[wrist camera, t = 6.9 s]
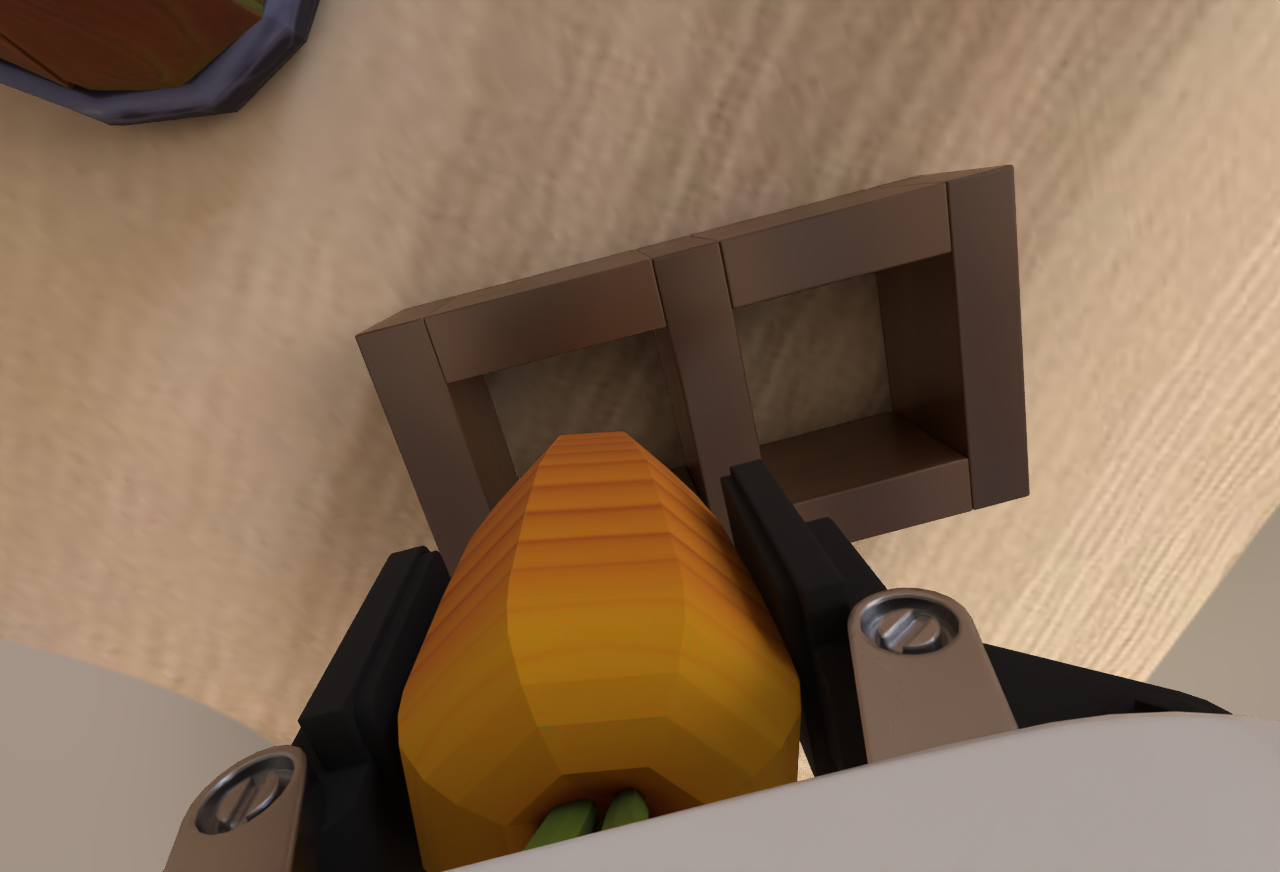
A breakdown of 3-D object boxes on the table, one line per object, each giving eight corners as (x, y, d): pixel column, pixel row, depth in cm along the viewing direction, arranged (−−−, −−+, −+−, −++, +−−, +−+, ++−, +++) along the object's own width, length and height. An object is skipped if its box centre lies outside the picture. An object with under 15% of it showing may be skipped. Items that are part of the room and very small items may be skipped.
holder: (918, 175, 21) (1014, 163, 17) (943, 442, 25) (1030, 496, 20) (403, 309, 21) (353, 335, 17) (494, 561, 25) (475, 643, 20)
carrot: (463, 411, 17) (-191, 1521, 3) (641, 328, 16) (994, 1089, 2) (553, 564, 18) (448, 1752, 4) (715, 491, 18) (1188, 1523, 4)
